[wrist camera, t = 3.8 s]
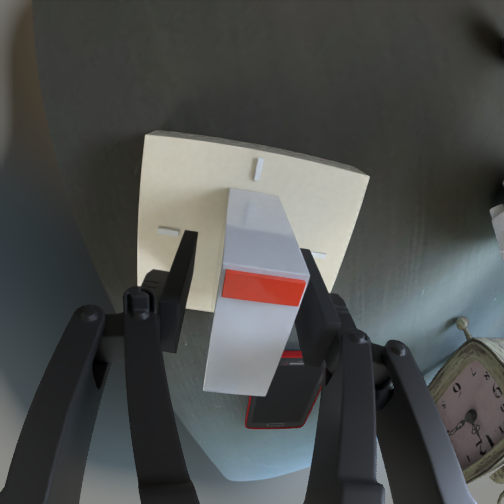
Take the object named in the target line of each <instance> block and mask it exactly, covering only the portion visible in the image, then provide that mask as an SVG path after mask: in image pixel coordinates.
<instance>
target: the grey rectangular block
mask: <svg viewBox="0 0 504 504" xmlns="http://www.w3.org/2000/svg"><path fill="white" fill-rule="evenodd" d="M309 278H310V273H309V271H308V268H307V266H306V263H305V261H304V258H303V255H302V253H301V250H300V248H299V245H298V243H297V240H296V238H295V235H294V233H293V230H292V228H291V225H290V223H289V221H288V218H287V216H286V213H285V211H284V208H283V206H282V204H281V201H280V199H279V196H276V195H270V194H265V193H259V192H253V191H247V190H242V189H236V188H229V192H228V198H227V204H226V210H225V215H224V221H223V227H222V233H221V239H220V246H219V252H218V258H217V264H216V271H215V277H214V284H213V292H212V301H211V310H210V319H209V329H208V339H207V349H206V359H205V370H204V381H203V391H210V392H219V393H228V394H239V395H251V396H266V394H267V391H268V389H269V386H270V384H271V381H272V379H273V376H274V374H275V371H276V369H277V366H278V364H279V361H280V359H281V356H282V353H283V351H284V348H285V345H286V343H287V340H288V337H289V335H290V332H291V329H292V326H293V324H294V321H295V318H296V315H297V313H298V310H299V307H300V304H301V301H302V298H303V295H304V293H305V290H306V287H307V284H308V281H309Z"/></svg>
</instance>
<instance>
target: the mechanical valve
mask: <svg viewBox="0 0 504 504" xmlns="http://www.w3.org/2000/svg"><path fill="white" fill-rule="evenodd" d="M501 49H502V54H503V56H504V38H503V40H502V45H501ZM503 185H504V181H503ZM489 211H490V214H491V217H492V224H493V228H494V231H495V235H496V238H497V242H498V246H499V250H500V252H501V257H502V259H504V205H503V204H501V205H497V206H495V207H493V208H491V209H490V210H489Z"/></svg>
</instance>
